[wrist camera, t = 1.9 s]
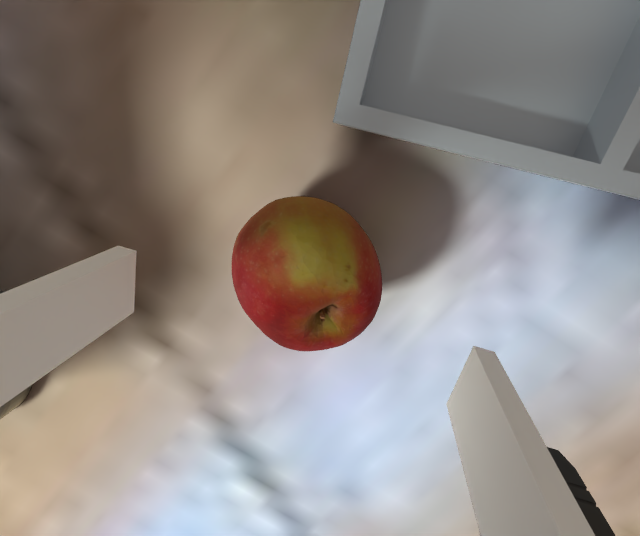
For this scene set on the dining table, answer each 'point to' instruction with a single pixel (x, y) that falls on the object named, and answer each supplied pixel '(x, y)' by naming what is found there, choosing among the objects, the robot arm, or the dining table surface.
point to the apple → (306, 274)
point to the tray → (504, 83)
